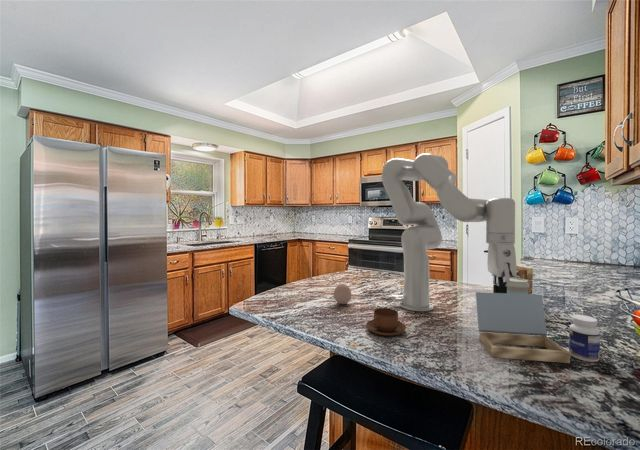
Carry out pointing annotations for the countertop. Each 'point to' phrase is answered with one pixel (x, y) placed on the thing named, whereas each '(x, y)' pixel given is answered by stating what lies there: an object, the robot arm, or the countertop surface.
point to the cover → (511, 313)
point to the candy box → (525, 276)
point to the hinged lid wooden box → (551, 355)
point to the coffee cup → (517, 286)
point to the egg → (342, 294)
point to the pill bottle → (584, 338)
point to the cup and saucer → (386, 322)
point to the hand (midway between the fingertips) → (500, 298)
